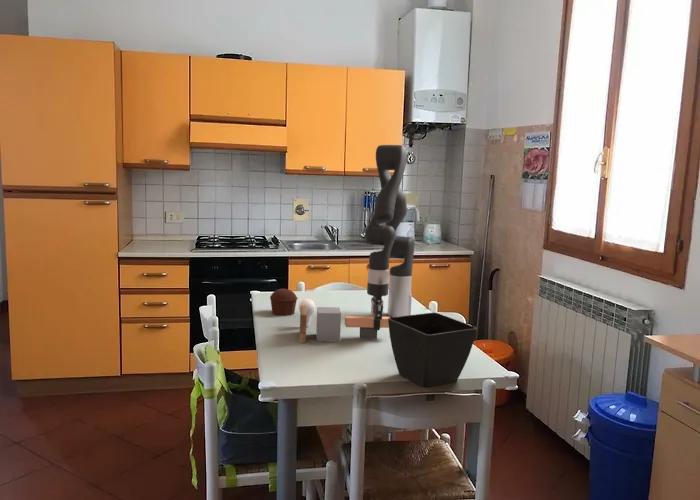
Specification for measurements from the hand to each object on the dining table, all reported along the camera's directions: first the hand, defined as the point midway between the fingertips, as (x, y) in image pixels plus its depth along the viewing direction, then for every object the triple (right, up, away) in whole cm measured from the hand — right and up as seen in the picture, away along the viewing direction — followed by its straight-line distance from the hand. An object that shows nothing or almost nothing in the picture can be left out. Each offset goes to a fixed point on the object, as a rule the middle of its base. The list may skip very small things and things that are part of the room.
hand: (375, 328), depth 212 cm
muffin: (-37, +2, +31) cm, 48 cm away
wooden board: (-26, -3, -2) cm, 26 cm away
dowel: (-3, +1, 0) cm, 3 cm away
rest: (-3, -4, 0) cm, 4 cm away
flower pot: (+14, -10, -38) cm, 41 cm away
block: (-17, -3, -1) cm, 17 cm away
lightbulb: (-26, -1, +11) cm, 28 cm away
